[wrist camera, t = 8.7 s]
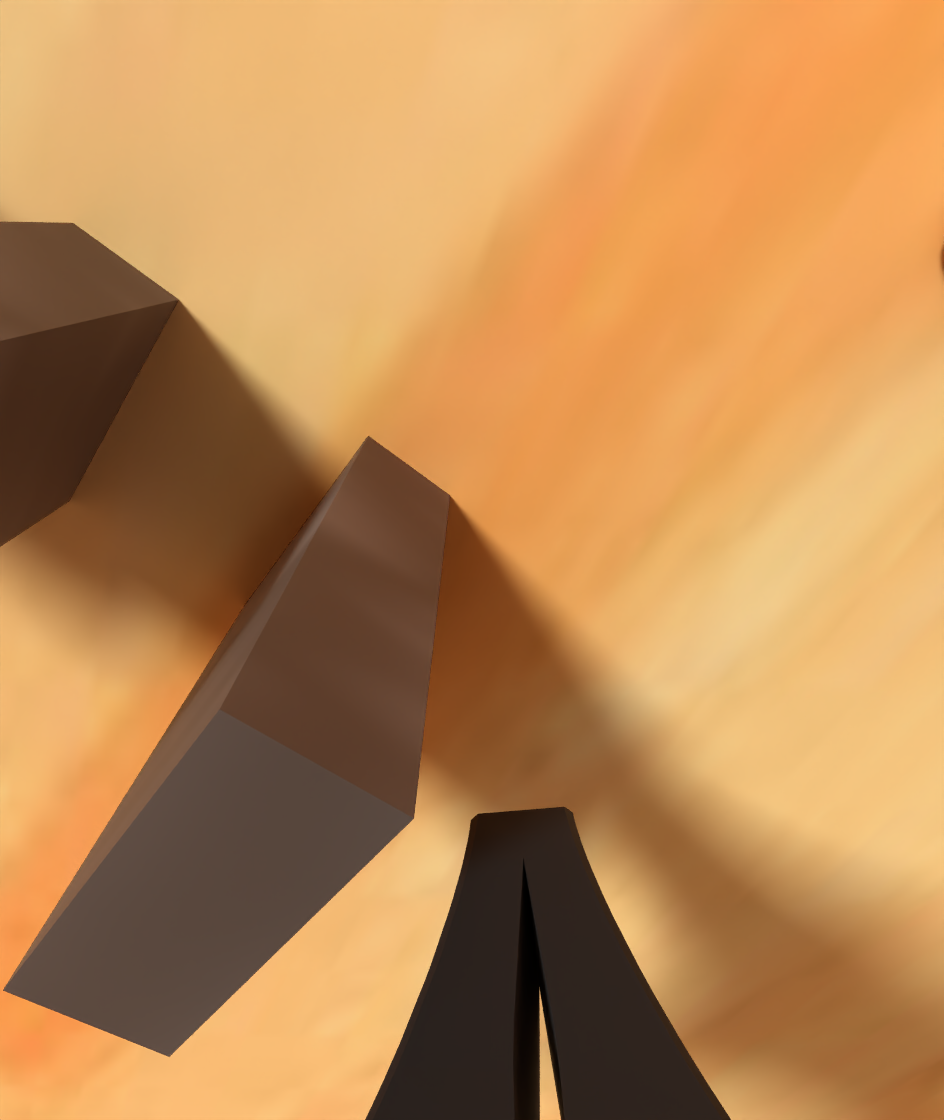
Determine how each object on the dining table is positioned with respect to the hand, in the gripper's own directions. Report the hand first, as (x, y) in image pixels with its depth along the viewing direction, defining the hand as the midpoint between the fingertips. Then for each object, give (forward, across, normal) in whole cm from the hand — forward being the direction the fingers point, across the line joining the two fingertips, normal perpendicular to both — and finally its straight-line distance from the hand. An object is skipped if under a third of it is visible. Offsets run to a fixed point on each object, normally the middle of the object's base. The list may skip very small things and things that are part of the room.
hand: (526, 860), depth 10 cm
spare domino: (+5, +3, -3) cm, 6 cm away
